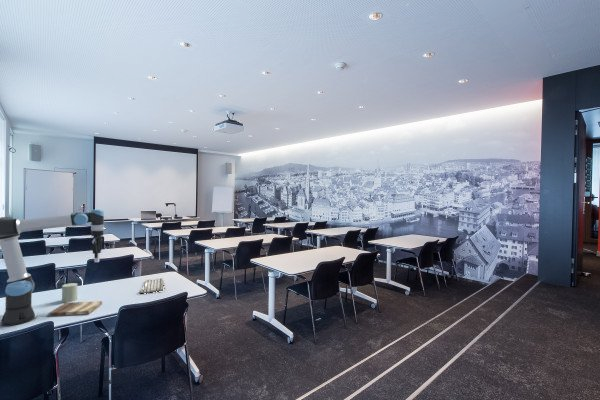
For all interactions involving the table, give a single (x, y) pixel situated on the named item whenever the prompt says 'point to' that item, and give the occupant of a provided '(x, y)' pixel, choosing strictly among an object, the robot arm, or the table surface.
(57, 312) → the walnut board
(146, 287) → the mechanical keyboard
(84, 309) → the oak plank
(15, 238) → the robot arm
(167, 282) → the table surface
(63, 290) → the can
